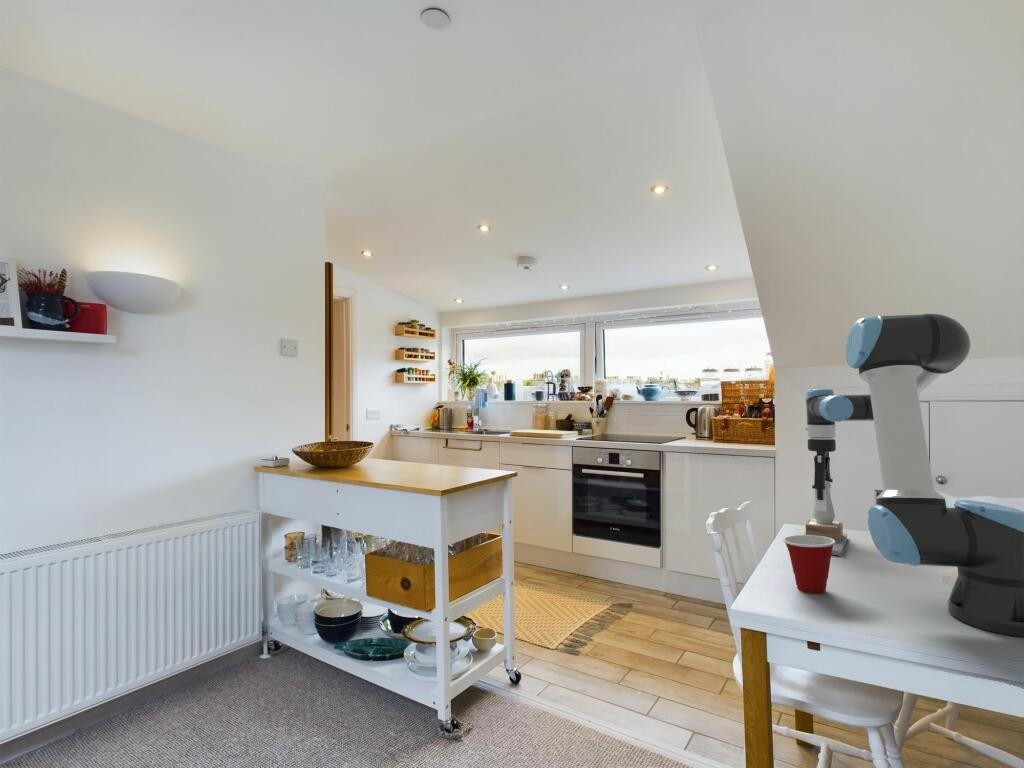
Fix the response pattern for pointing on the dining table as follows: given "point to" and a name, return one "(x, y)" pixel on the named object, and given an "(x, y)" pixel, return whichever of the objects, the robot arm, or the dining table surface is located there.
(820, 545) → the plastic cup
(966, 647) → the dining table surface
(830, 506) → the salt shaker
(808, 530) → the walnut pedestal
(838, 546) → the build plate
